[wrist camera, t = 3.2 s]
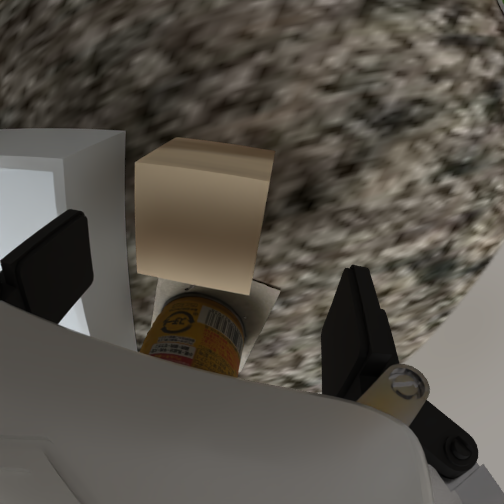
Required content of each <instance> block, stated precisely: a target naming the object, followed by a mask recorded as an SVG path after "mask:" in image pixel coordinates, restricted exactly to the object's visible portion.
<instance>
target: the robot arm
mask: <svg viewBox="0 0 504 504" xmlns="http://www.w3.org/2000/svg"><path fill="white" fill-rule="evenodd" d="M0 263H1V267H2V271H0V504H504V493H503V492H502V490H501V488H500V487H499V485H498V484H497V483H496V481H495V480H494V478H493V477H492V475H491V474H490V473H489V471H488V470H487V468H486V467H485V466H484V464H482V465H481V466H479V465H478V464H477V462H476V461H477V459H478V448H477V444H476V443H475V441H474V439H473V438H472V437H471V436H470V435H469V434H468V433H467V432H466V431H464V430H463V429H462V428H461V427H459V426H458V425H457V424H456V423H454V422H453V421H452V420H451V419H450V418H448V417H447V416H446V415H445V414H443V413H442V412H441V411H440V410H438V409H437V408H436V407H435V406H433V405H432V404H431V403H430V402H429V401H427V398H428V395H429V393H430V388H429V384H428V381H427V379H426V378H425V377H424V375H423V374H422V373H421V372H420V371H419V370H417V369H415V368H414V367H412V366H409V365H406V364H399V360H398V356H397V352H396V348H395V344H394V340H393V337H392V333H391V329H390V326H389V322H388V318H387V315H386V312H385V310H383V309H380V305H379V302H378V298H377V295H376V291H375V288H374V285H373V281H372V278H371V275H370V271H369V269H368V268H366V267H361V266H356V265H351V267H350V269H349V268H345V269H344V271H343V274H342V277H341V280H340V282H339V285H338V288H337V291H336V294H335V296H334V299H333V302H332V305H331V307H330V310H329V313H328V315H327V318H326V320H325V323H324V326H323V329H322V333H321V353H322V394H318V393H312V392H307V391H302V390H296V389H291V388H286V387H280V386H275V385H269V384H264V383H259V382H255V381H250V380H245V379H240V378H236V377H231V376H227V375H222V374H218V373H214V372H209V371H205V370H201V369H197V368H193V367H189V366H186V365H182V364H178V363H174V362H171V361H167V360H164V359H160V358H157V357H153V356H150V355H146V354H143V353H140V352H136V351H133V350H130V349H127V348H124V347H121V346H117V345H114V344H111V343H108V342H105V341H102V340H100V339H97V338H94V337H91V336H88V335H85V334H83V333H80V332H77V331H74V330H72V329H69V328H66V327H64V326H61V325H58V324H59V322H60V321H61V320H62V319H63V318H64V316H65V315H66V314H67V313H68V311H69V310H70V309H71V308H72V307H73V306H74V304H75V303H76V302H77V301H78V300H79V298H80V297H81V296H82V295H83V294H84V293H85V291H86V290H87V289H88V288H89V287H90V286H91V284H92V283H93V280H94V273H93V266H92V258H91V249H90V240H89V230H88V219H87V217H86V216H85V214H84V212H82V211H79V210H73V209H68V210H66V211H65V212H64V213H62V214H61V215H59V216H58V217H56V218H55V219H54V220H52V221H51V222H49V223H48V224H47V225H45V226H44V227H42V228H41V229H40V230H38V231H37V232H36V233H34V234H33V235H32V236H30V237H29V238H28V239H26V240H25V241H24V242H22V243H21V244H20V245H19V246H17V247H16V248H15V249H14V250H12V251H11V252H10V253H9V254H7V255H6V256H5V257H4V258H2V259H1V260H0Z"/></svg>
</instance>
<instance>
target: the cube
mask: <svg viewBox="0 0 504 504" xmlns="http://www.w3.org/2000/svg"><path fill="white" fill-rule="evenodd" d="M274 155H275V151H271V150H266V149H260V148H254V147H248V146H241V145H235V144H228V143H221V142H214V141H206V140H198V139H190V138H181V137H176V138H174V139H172V140H170V141H169V142H167V143H165V144H164V145H162V146H160V147H159V148H157V149H155V150H154V151H152V152H150V153H149V154H147V155H146V156H144V157H142V158H141V159H139V160H138V161H136V162H135V238H136V260H137V273H139V274H144V275H149V276H153V277H158V278H163V279H168V280H172V281H177V282H182V283H187V284H192V285H197V286H202V287H207V288H213V289H218V290H223V291H228V292H234V293H239V294H244V295H249V294H250V288H251V283H252V277H253V272H254V266H255V261H256V255H257V250H258V244H259V239H260V233H261V228H262V222H263V217H264V211H265V205H266V200H267V194H268V189H269V183H270V177H271V172H272V166H273V161H274Z"/></svg>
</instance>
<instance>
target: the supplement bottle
mask: <svg viewBox="0 0 504 504" xmlns="http://www.w3.org/2000/svg"><path fill="white" fill-rule="evenodd" d="M498 3H499V5H500V7H501V9H502V11H503V13H504V0H498Z"/></svg>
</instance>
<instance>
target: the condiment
mask: <svg viewBox="0 0 504 504" xmlns="http://www.w3.org/2000/svg"><path fill="white" fill-rule="evenodd" d="M191 285H192V284H187V283H182V282H177V281H172V280H168V279H163V278H158V284H157V288H156V295H155V303H154V310H153V316H152V323H151V329H150V330H149V332H148V333H147V336H146V338H145V340H144V342H143V345H142V348H141V349H140V353H143V354H146V355H150V356H153V357H157V358H160V359H164V360H167V361H171V362H174V363H178V364H182V365H186V366H189V367H193V368H197V369H201V370H205V371H209V372H214V373H218V374H222V375H227V376H231V377H236V378H237V377H238V372H241V370H242V368H243V366H244V364H245V362H246V360H247V358H248V356H249V354H250V352H251V350H252V348H253V346H254V344H255V342H256V340H257V338H258V336H259V334H260V332H261V331H262V328H263V326H264V324H265V322H266V320H267V318H268V316H269V314H270V312H271V310H272V308H273V306H274V304H275V302H276V300H277V298H278V296H279V293H280V291H279V290H277V289H274V288H271V287H268V286H266V285H265V284H262V283H258V282H256V281H253V280H252V283H251V288H250V294H249V295H244V294H239V293H234V292H228V291H223V290H218V289H213V288H207V287H202V286H197V285H195V287H193V288H189V287H190V286H191ZM185 288H189V290H188V291H186V290H185ZM244 317H246V318H244Z"/></svg>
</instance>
